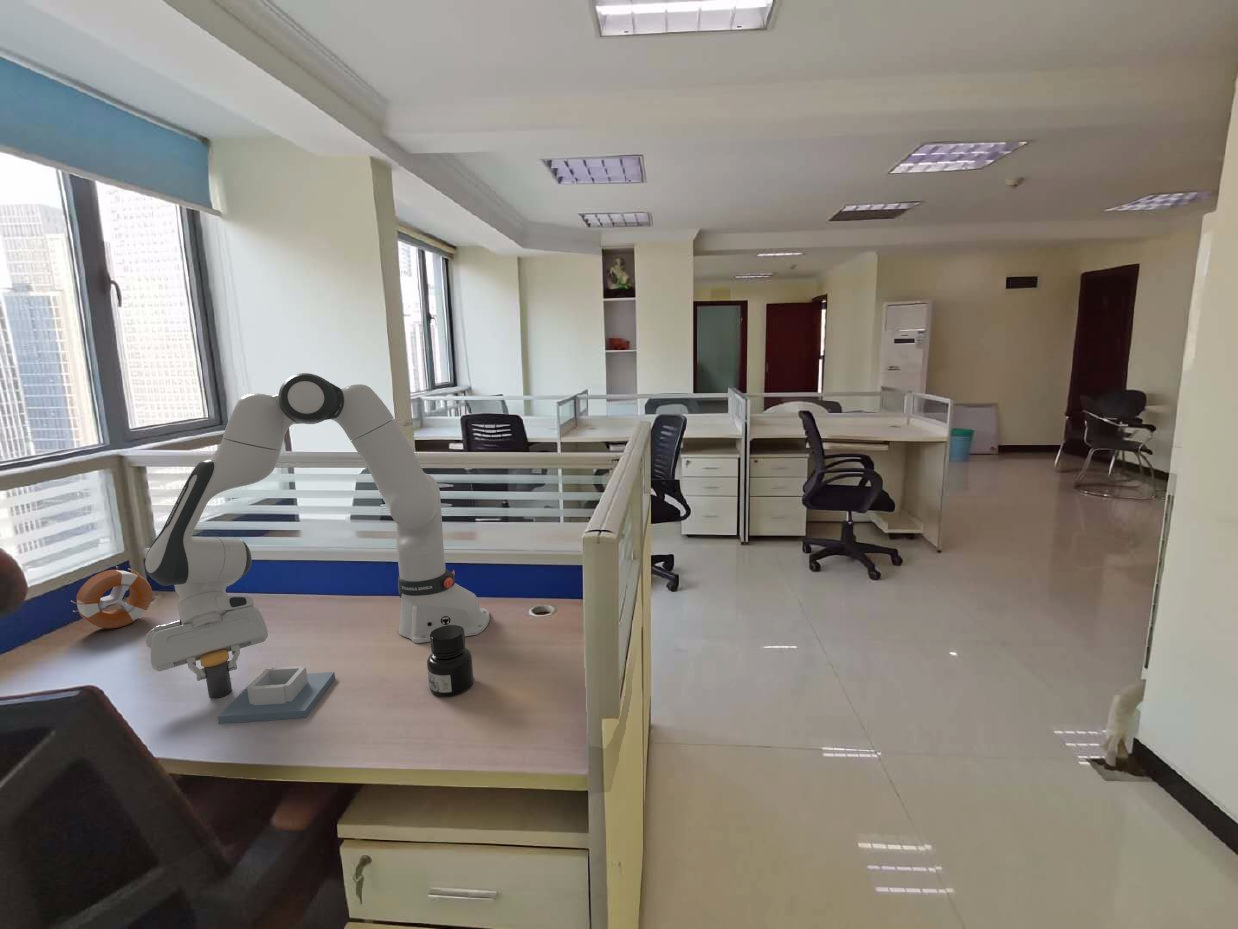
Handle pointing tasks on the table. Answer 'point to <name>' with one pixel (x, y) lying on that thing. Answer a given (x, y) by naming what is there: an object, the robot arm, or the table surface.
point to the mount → (278, 695)
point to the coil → (113, 598)
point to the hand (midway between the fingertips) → (217, 674)
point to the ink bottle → (449, 662)
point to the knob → (217, 673)
